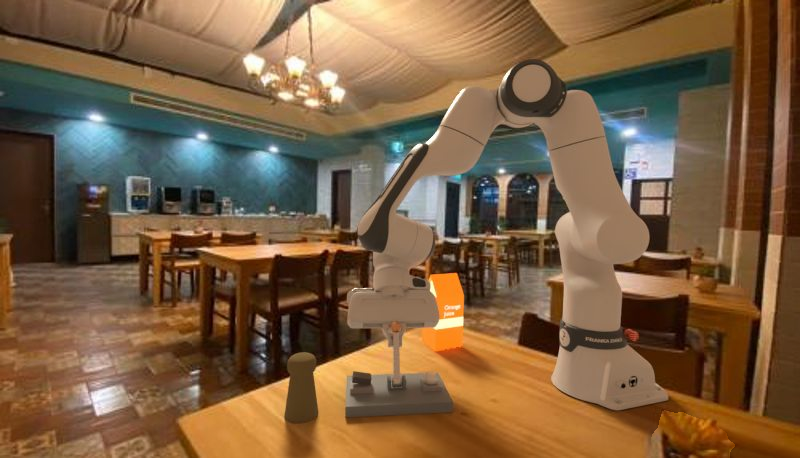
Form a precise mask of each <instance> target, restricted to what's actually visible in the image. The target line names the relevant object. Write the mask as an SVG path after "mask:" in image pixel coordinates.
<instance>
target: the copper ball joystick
mask: <svg viewBox="0 0 800 458" xmlns="http://www.w3.org/2000/svg"><path fill="white" fill-rule="evenodd" d="M401 329H402V326H401V324H400V323H399V322H393V323H392V324H391V325H390V328H389V331H391V332H392V336H393V347H392V369H393V370H392V371H393V373H392V374H393V376H392V387H401V386H402V378H401V376H400V374H401V366H400V365H401V364H400V363H401V362H400V360H401V359H400V355H401V354H400V347H399V334H400V331H401Z"/></svg>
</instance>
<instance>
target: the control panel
mask: <svg viewBox="0 0 800 458" xmlns="http://www.w3.org/2000/svg"><path fill="white" fill-rule="evenodd" d="M425 373H426V372H416V373H415V372H413V373H400V376H401V378H402V386H401V387H392V376H393V373H389V374H387V373H385V374H384V373H383V374H382V373H381V374H371V384H370V385H365V384H357V383H352V375H346V383H345V408H344V410H345V412H344V413H345V414H344V415H345V417H344V418H362V417H363V418H365V417H384V416H385V417H386V416H403V415H404V416H406V415H422V414H440V413H441V414H445V413H453V411H454V406H453V405H454V401H453V399H452V397H451V394H450V393H449V391H448V389H447V387H446V385H445V383H444V381H443V379H442V377H441V375H440V372H436V373H437V383H436V384H427V383H425V381H424V379H425Z"/></svg>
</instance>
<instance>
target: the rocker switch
mask: <svg viewBox="0 0 800 458" xmlns="http://www.w3.org/2000/svg"><path fill="white" fill-rule="evenodd" d="M371 375H372V373H368V372H364V371H362V372H361V371H354V370H353V371H352V375H351V376H352V383H357V384H365V385H370V384H371Z"/></svg>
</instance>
